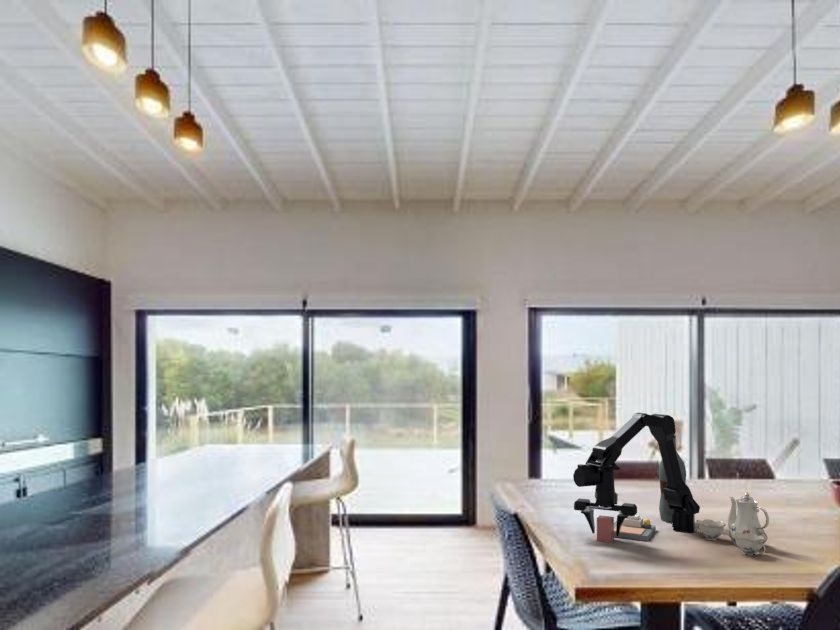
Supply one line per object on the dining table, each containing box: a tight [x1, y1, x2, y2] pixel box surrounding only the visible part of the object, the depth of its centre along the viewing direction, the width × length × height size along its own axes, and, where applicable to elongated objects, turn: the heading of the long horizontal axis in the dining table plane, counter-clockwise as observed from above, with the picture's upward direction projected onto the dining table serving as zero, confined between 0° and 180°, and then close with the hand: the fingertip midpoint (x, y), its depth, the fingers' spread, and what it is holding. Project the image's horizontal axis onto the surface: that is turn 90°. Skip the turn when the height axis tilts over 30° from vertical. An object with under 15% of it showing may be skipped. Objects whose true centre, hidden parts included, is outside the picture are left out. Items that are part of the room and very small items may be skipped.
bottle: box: [658, 434, 687, 524], centre depth 246 cm, size 9×9×30 cm
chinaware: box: [696, 491, 770, 556], centre depth 212 cm, size 28×17×17 cm, turn 18°
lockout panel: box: [614, 516, 657, 542], centre depth 227 cm, size 13×16×4 cm
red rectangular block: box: [596, 514, 615, 543], centre depth 218 cm, size 4×4×7 cm
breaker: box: [626, 513, 641, 521], centre depth 230 cm, size 4×4×3 cm
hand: (605, 534), depth 218 cm, fingers open, 7 cm apart
